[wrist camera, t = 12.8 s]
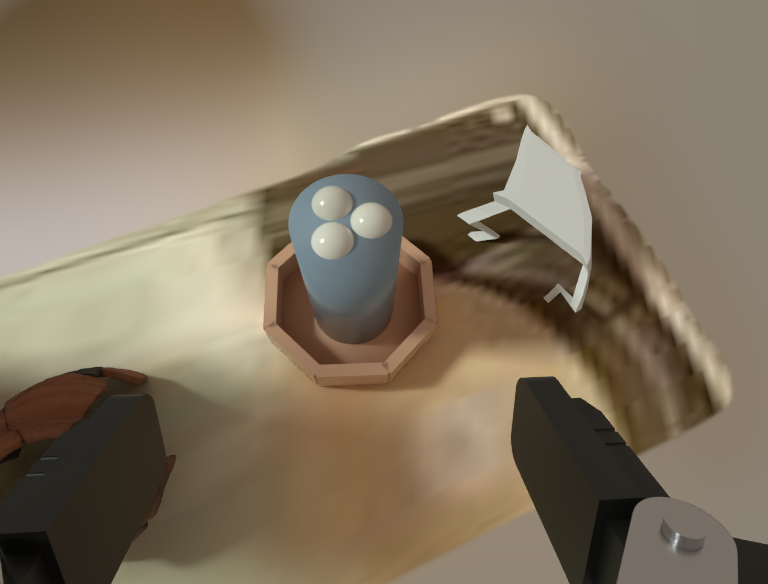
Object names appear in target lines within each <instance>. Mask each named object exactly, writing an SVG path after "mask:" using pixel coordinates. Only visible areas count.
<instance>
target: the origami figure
mask: <svg viewBox="0 0 768 584" xmlns="http://www.w3.org/2000/svg"><path fill="white" fill-rule="evenodd" d="M520 142H521V144H520V148H519V152H518V156H517V160H516V162H515V165H514V167H513V170H512V172H511V175H510V177H509V179H508V182H507V184H506V187H505V189H504V191H499V192H494V193H493V195H494V202H491V203H488V204H485V205H483V206H480V207H477V208H474V209H471V210H468V211H465V212H463V213H461V214H459V215H457V216H459V217H460V218H461V219H463V220H464V221H466V222H467V223H468V224H470V225H472V226H474V227H476V228H478V229H480V230H482V231H478V232H471V233H469V234H468V235H469V236H470V237H471V238H473V239H474V240H475V241H483V240H491V239H498V238H499V237H500V235H498V234H497V233H496V232H494V231H493V230H491V229H490V228H488V227H487V226H485V225H483V224H482V223H480V222H479V220H482V219H484V218H487V217H490V216H492V215H495V214H498V213H500V212H503V211H506V210H509V209H512V210H513V211H514V212H516V213H517V214H518V215H519V216H521V217H522V218H523V219H525V220H526V221H527V222H529V223H530V224H531V225H532V226H534V227H535V228H536V229H538V230H539V231H540V232H542V233H543V234H544V235H546V236H547V237H548V238H549V239H551V240H552V241H553V242H555V243H556V244H557V245H559V246H560V247H561V248H562V249H564V250H565V251H566V252H568V253H569V254H570V255H572V256H573V257H574V258H575V259H577V260H578V261H579V262H581V263H582V264H583V267H582V270H581V273H580V276H579V279H578V283H577V286H576V289H575V292H574V295H573V297H572V296H571V295H570V294H569V293H568V292H567V291H565V290H564V289H563V288H562V287H561V286H560V285H559V284H557V285H556V286H555V287H554V288H553V289H552V290H551V291H550V292H549V293H548V294H547V295H546V296H545V297H544V299H545V300H546V301H547V302H548V303H549V302H550V301H551V300H552V299H553V298H554V297H556V296H557V295H558V294H559V293H560V292H561V294H562V295H563V296H564V298H565V299H566V300H567V302H568V303H569V305H570V306H571V307H572V309H573V310H574V311H575V313H576V312H577V311H579V310H580V309H582V306H583V302H584V299H585V295H586V291H587V288H588V282H589V277H590V271H591V262H592V216H591V212H590V208H589V204H588V200H587V196H586V193H585V190H584V188H585V186H584V185H583V183H582V180H581V177H580V175H581V172H582V171H580V170H578V169H576V168H574V167H573V166H572V165H571V164H570V163H568V162H567V161H566V160H565V159H564V158H563V157H561V156H560V155H559V154H558V153H557V152H555V151H554V150H553V149H552V148H551V147H549V146H548V145H547V144H546V143H545V142H543V141H542V140H541V139H540V138H539V137H537V136H536V135H535V134H534V133H533V132H531V130H530V129H529V127H528V126H526V128H525V130H524V134H523V137H522V139H521V141H520Z"/></svg>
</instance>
